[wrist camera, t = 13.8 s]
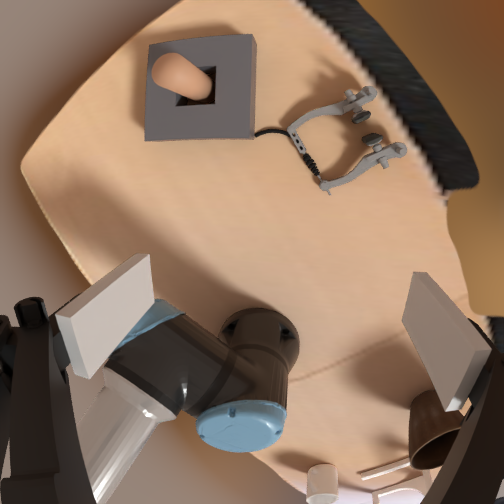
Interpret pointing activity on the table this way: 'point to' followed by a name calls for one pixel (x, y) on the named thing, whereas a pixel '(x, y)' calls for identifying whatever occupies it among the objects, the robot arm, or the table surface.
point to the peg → (183, 78)
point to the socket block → (226, 95)
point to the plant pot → (431, 431)
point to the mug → (322, 484)
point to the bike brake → (379, 153)
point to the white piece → (417, 484)
